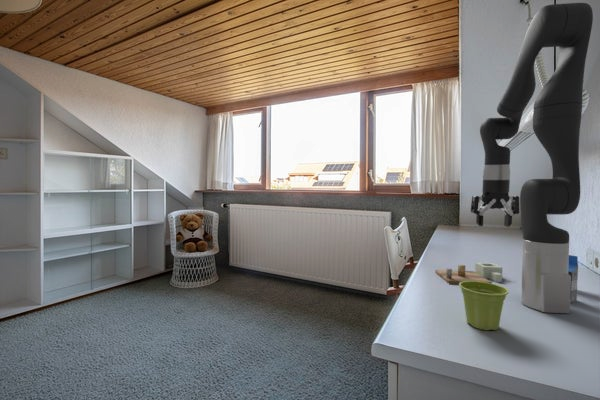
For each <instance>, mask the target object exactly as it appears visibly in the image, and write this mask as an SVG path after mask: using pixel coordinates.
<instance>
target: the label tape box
mask: <svg viewBox="0 0 600 400" xmlns="http://www.w3.org/2000/svg"><path fill="white" fill-rule="evenodd" d="M578 260H579V259H578V256H577V255H571V254H569V265H568V274H569V275H570V276H571V293H570V303H574V302H576V301H577V299H578V275H579V274H578V273H579V261H578Z"/></svg>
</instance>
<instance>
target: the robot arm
mask: <svg viewBox="0 0 600 400" xmlns="http://www.w3.org/2000/svg"><path fill="white" fill-rule="evenodd" d="M593 13H594V12H593V9H592V6H591V5H590V4H589V3H587V2H570V3H569V2H567V3H555V4H548V5H545V6H543V7H541V8H540V9H538V11H536V13H535V14H534V16H533V18H532V19H531V21H530V23H529V25H528V28H527V30H526V33H525V36H524V39H523V41H522V44H521V47H520V50H519V54H518V57H517V59H516V62H515V66H514V70H513V72H512V75H511V77H510V81H509V82H508V85H507V87H506V89H504V90H505V91H504V92H503V95H502V97H501V98H500V101H499V102H498V104H497V107H496V112H497V113H498V115H499V116H502V117H489V118H486V119H484V120H483V121H482V122H481V124H480V127H479V134H480V138H481V141H482V146H483V151H484V167H483V172H482V174H483V175H482V195H481V196H480V195H479V196H478V195H472V197H471V201H470V202H471V204H470V205H471V206H470V212H471V213H472V214H475V215H476V219H475V221H476V222H475V223H476V225H477V226H478V227H484V214H486V212H487V211H488V210H490V209H491V210H494V209H497V210H498V209H499V210H502V211H503V212H504V220H503V221H504V222H503V225H504V227H507V228H508V227H511V226H512V223H513V216H514V215H519V214H520V227H521V230H522V255H521V256H522V257H521V258H522V262H521V263H522V264H521V268H522V269H521V304H523V305H524V306H526V307H528V308H531V309H534V310H537V311H539V312H542V313H551V314H570V313H571V302H570V293H571V276H570V275H569V274H568V265H569V255H570V233H569V232H568V231H567V230H566V229H562V228H559V227H557V226H555V225H552V224H551V222H549V221H548V215H555V216H556V215H561V216H562V215H570V214H572V213H574V212H575V211H576V210H577V208H578V207H579V204H580V200H581V175H580V174H581V173H580V163H579V162H580V159H579V157H580V155H579V154H580V152H579V151H580V131H581V125H582V124H581V123H582V122H581V121H582V113H583V89H584V78H585V70H586V69H585V68H586V60H587V54H588V49H589V44H590V39H591V35H592V28H593V21H594V14H593ZM554 47H556V48H559V53H558V54H559V56H558V60H557V65H556V67H555V70H554V72H553V74H552V76H551V77H550V78H549V80H548V81H547V82H546V83H545V84H544V86H543V88H542V89H541V90H540V92H539V93H538V95H537V97H536V98H535V100H534V103H533V109H532V110H533V111H532V113H533V114H532V129H533V130H532V131H533V133H534V134H535V137H536V138H537V140H538V141H539V143H540V144H541V145H542V147H543V148H544V149H545V151H546V153H547V154H548V156H549V159H550V161H551V165H552V166H551V168H552V178H532V179H528V180H526V181H525V182H524V183H523V185H522V186H521V189H520V194H519V195H520V196H519V195H509V193H510V183H511V182H510V181H511V166H510V165H511V148H510V147H508V146H503V145H500V144H498V142H497V141H498V140H511V139H512V138H514V137H515V136H516V135H517V134H518V132H519V130H520V124H521V120H522V116H523V113H524V110H525V109H526V108H527V106H528V104H529V103H530V101H531V99H532V98H533V96H534V94H535V90H536V83H537V82H536V75H535V62H536V60H537V57H538V56H539V54H540V51H541V50H542V49H543V48H554ZM481 201H482V203H481V204H480V206H479V203H480V202H481ZM508 202H510V206H509V205H508Z"/></svg>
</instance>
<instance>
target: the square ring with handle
mask: <svg viewBox="0 0 600 400" xmlns="http://www.w3.org/2000/svg"><path fill="white" fill-rule="evenodd" d="M474 266H475V267H474V269H475V270H474V272H475V273H477V274H479V275H480V276H482V277H484V278H485V279H487V280H488V279H489V280H490V281H493V282H494V283H502V282H503V281H502V280H503V266H500V265H498V264H496V263H494V262H475V265H474Z"/></svg>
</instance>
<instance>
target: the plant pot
mask: <svg viewBox="0 0 600 400" xmlns="http://www.w3.org/2000/svg"><path fill="white" fill-rule="evenodd" d="M458 285H459V287H460V288H461V289H460V290H461V293H462V297H463V303H464V304H463V305H464V309H465V316H466V317H465V318H466V323H467V324H469V325H470V326H472V327H473V328H475V329H479V330H482V331H483V330H484V331H489V330H493V331H497V330H498V329H499V326H500V322H501V315H502V312H503V311H502V310H503V307H504V302H505V300H506V299H507V298H506V297H507V295H508V294H509V292H510V291H509V290H508V289H507V288H506V287H503V285H502V286H501V285H499V284H496V283H487V282H480V281H463V282H460V283H459V284H458Z"/></svg>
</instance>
